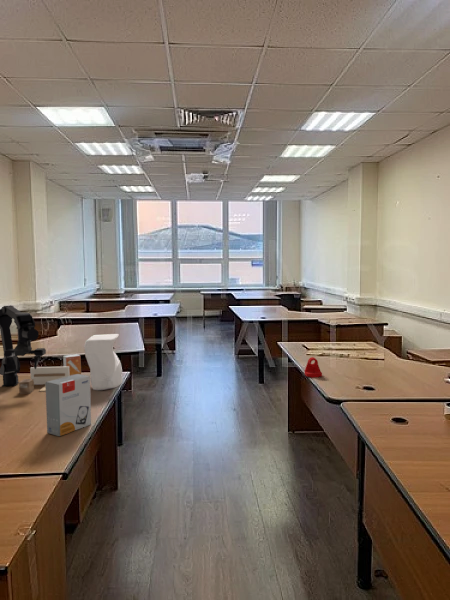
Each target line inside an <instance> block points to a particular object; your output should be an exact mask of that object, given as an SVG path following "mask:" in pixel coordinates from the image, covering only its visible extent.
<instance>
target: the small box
mask: <svg viewBox="0 0 450 600" xmlns="http://www.w3.org/2000/svg"><path fill="white" fill-rule="evenodd" d="M62 357H63V366H69V372H70V376H71V375H75V374H81V375H82V363H81V360H82V359H81V355H80V354H79V353H74V354H67V355H63V356H62Z"/></svg>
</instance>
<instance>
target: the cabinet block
mask: <svg viewBox="0 0 450 600" xmlns="http://www.w3.org/2000/svg"><path fill="white" fill-rule="evenodd" d="M18 382H19V383H18V389H19V391H18V392H19V395H31V394H32V393H33V392H34V391H35V385H34V379H31V378H23V379H22V380H20V381H18Z"/></svg>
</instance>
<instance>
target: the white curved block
mask: <svg viewBox="0 0 450 600" xmlns="http://www.w3.org/2000/svg"><path fill="white" fill-rule="evenodd" d="M119 336H120V334H119V333H108V334H107V333H105V334H94V335H92V336H90V337H88V339H86V340H85V342H84V346H83V348H84V355H85V359H86V361H87V365H88V367H89V369H90V370H89V371H90V372H89V373H90V375H89V376H90V386H91V388H92V390H93V391H103V390H109V389H110V390H111V389H114V388H117V387H119V386H121V385H122V384H123V376H122V375H123V369H122V363H121V360H120V358H119V357H118V355H117V353H115V351H114V345H115V342H116V341H117V339H118V337H119Z"/></svg>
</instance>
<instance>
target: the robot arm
mask: <svg viewBox="0 0 450 600" xmlns="http://www.w3.org/2000/svg"><path fill="white" fill-rule="evenodd" d="M13 320H14V321H13ZM13 322H14V324H15V325H16V330H17V342H16V346H15V348H14V344H13V340H12V332H11V325H12V323H13ZM39 336H40V333H39V331H38V330H37V329H36V321H35V319H34V318H33V315H31V313H29V312H22V311H21V310H19V309H17V308H16V307H14V305H9V304H8V305H3V306H2V307H1V308H0V338H1V344H2V350H3V357H2V360H1V365H0V375H1V376H2V385H1V387H15V386H16V385H19V382H20V381H19V375H18V373H21V362H20V360H19V359H20V358H19V356H20V357H24V356H25V355H34V356H33V359H34V360H33V361H34V365H33V367H34V368H35V369H36V368H37V367H38V364H39V362H40V360H41V357H43V356H44V355H45V354H47V350H46V347H42V348H41V347H40V348H39V347H38V348H36V349H33V348H32V342H33V341H36V340H38V339H39Z"/></svg>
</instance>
